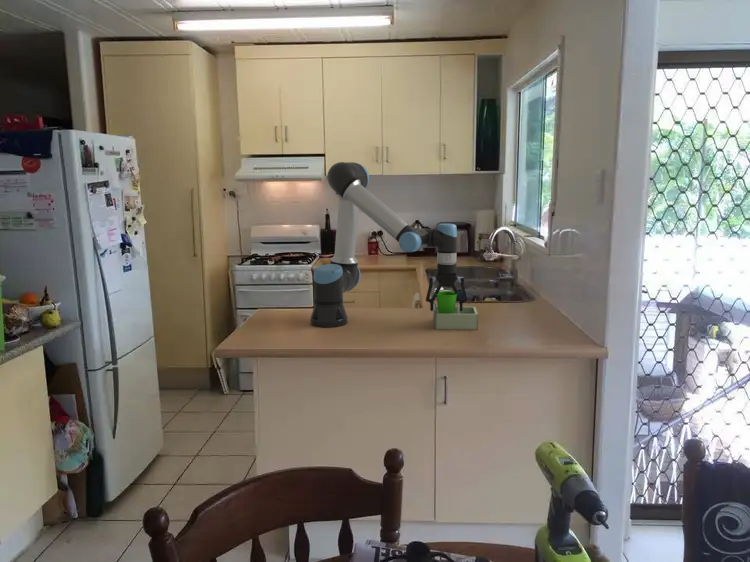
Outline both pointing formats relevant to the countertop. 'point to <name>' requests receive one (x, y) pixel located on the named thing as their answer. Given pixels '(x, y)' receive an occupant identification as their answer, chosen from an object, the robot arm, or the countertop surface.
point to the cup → (446, 302)
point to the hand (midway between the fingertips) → (446, 318)
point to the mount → (457, 319)
